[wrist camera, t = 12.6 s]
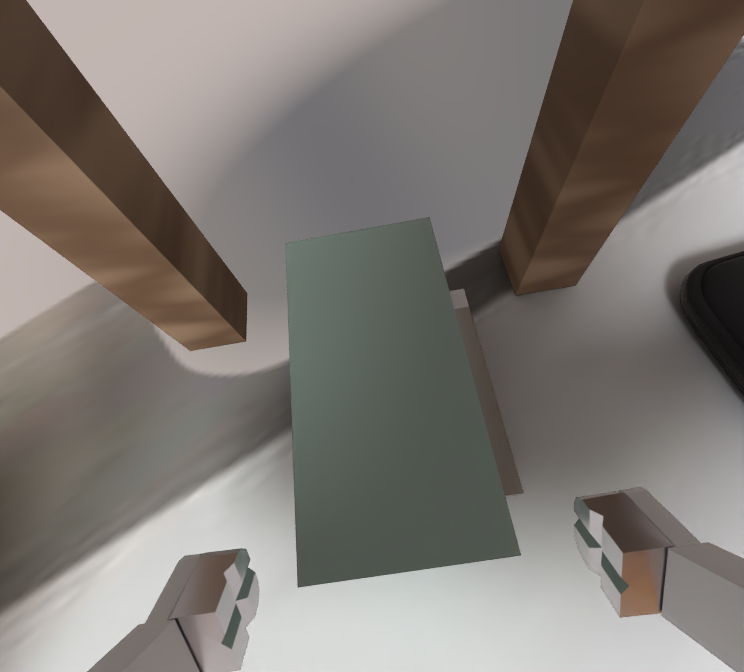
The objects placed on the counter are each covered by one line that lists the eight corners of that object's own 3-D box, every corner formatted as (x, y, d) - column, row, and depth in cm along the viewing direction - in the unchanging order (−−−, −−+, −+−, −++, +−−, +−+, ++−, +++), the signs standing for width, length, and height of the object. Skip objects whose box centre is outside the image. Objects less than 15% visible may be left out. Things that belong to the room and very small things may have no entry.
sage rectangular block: (363, 550, 15) (297, 587, 7) (343, 364, 18) (285, 243, 10) (464, 535, 15) (521, 555, 7) (424, 350, 18) (429, 217, 10)
